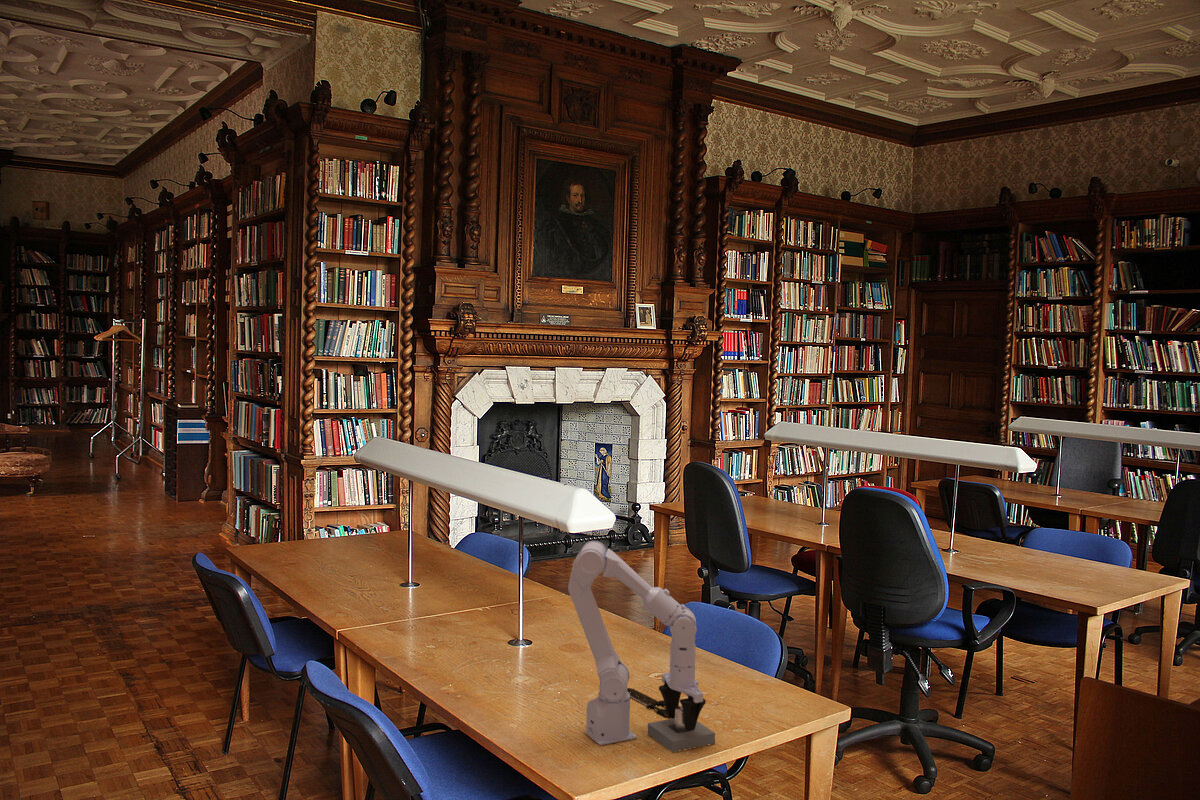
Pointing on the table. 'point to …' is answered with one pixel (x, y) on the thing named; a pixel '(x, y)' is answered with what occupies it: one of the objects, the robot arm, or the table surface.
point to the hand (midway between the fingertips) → (681, 723)
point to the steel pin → (679, 720)
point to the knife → (648, 701)
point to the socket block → (680, 735)
